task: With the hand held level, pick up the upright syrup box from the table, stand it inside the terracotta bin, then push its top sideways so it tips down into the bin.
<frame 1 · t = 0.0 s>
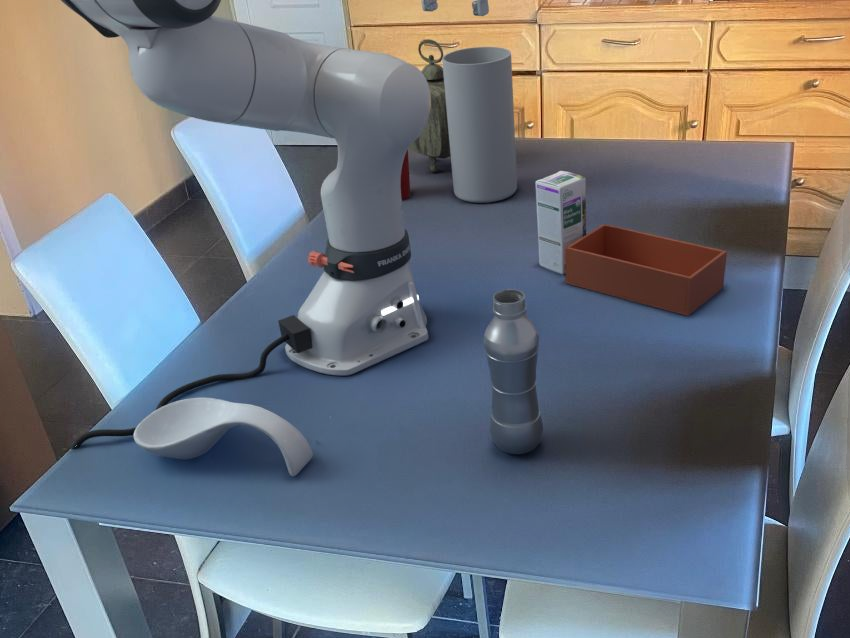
hand: (455, 12, 132), 39 cm above the table, tool pointing down, fingers open, 8 cm apart
paper cup: (396, 197, 186), on the table
cylinder vase: (485, 193, 184), on the table
bin: (643, 285, 147), on the table
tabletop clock: (440, 170, 196), on the table
spoon rest: (226, 454, 119), on the table
plastic bottle: (517, 446, 115), on the table
syrup box: (562, 265, 155), on the table
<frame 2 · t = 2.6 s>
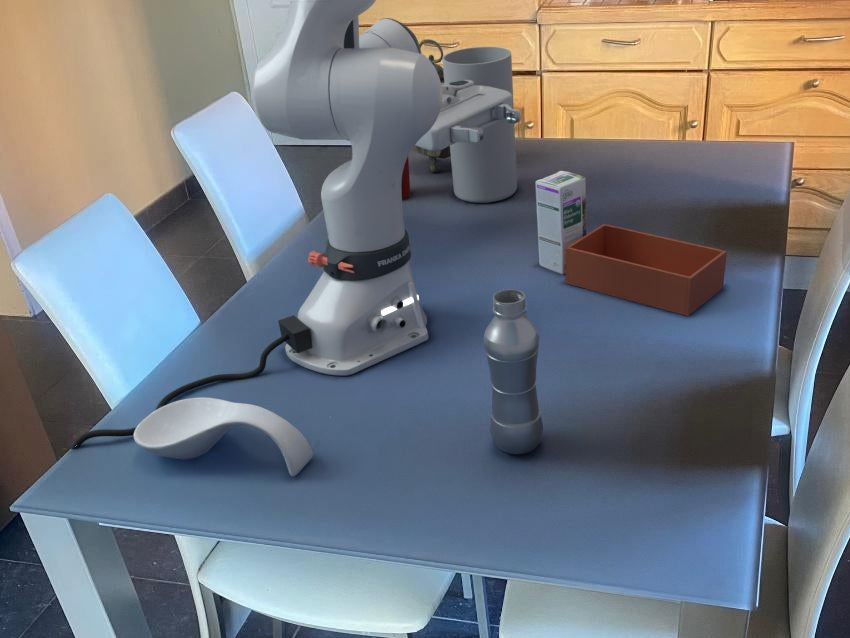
hand: (499, 126, 148), 21 cm above the table, tool horizontal, fingers open, 8 cm apart
nothing on the table moved.
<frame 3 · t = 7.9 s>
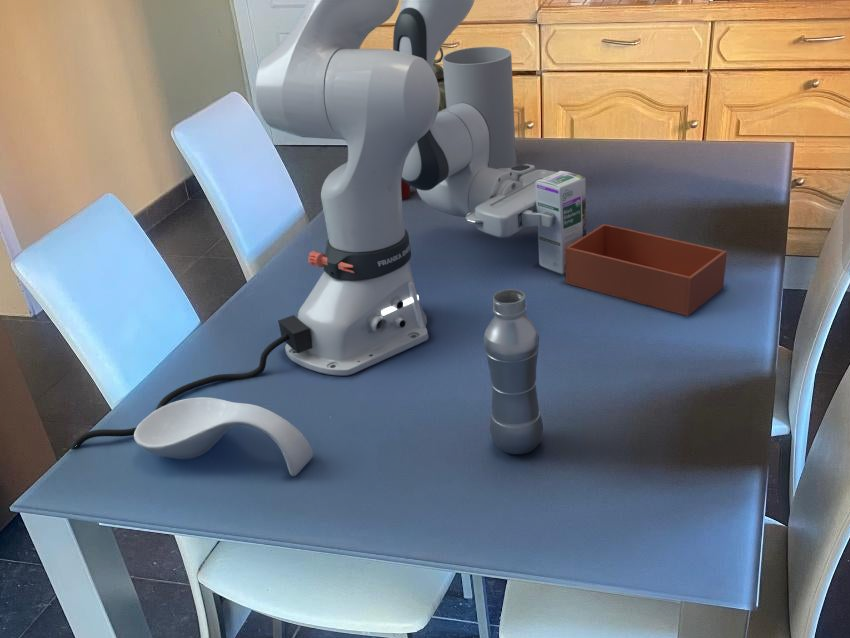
hand: (566, 212, 149), 9 cm above the table, tool horizontal, fingers closed on syrup box, 6 cm apart
syrup box: (562, 265, 155), on the table, touching gripper
everything else where it was.
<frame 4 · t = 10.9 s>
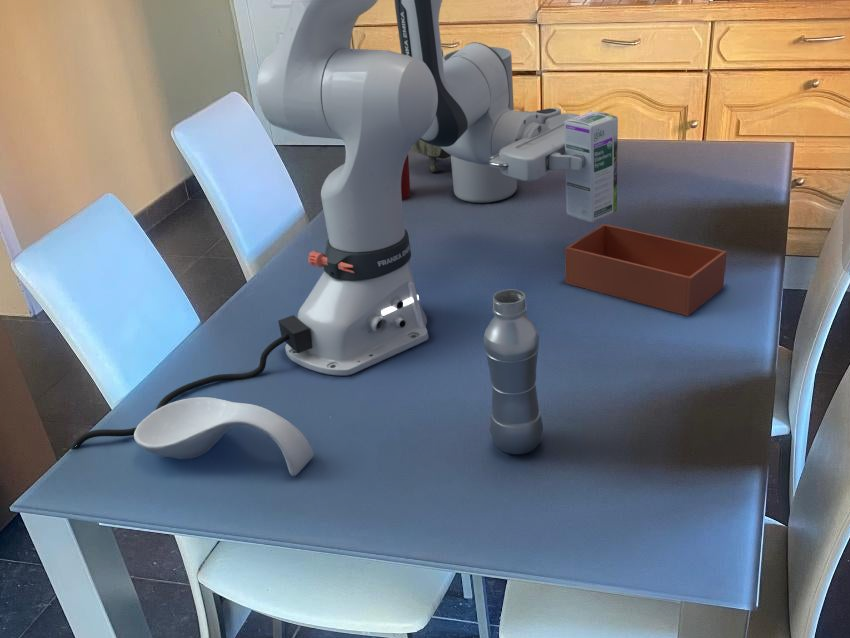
hand: (596, 155, 140), 19 cm above the table, tool horizontal, fingers closed on syrup box, 6 cm apart
syrup box: (590, 214, 146), point 10 cm above the table, touching gripper
everything else where it was.
when the fingers open (9 cm above the table, at t = 14.4 s): syrup box stays where it is, resting on bin.
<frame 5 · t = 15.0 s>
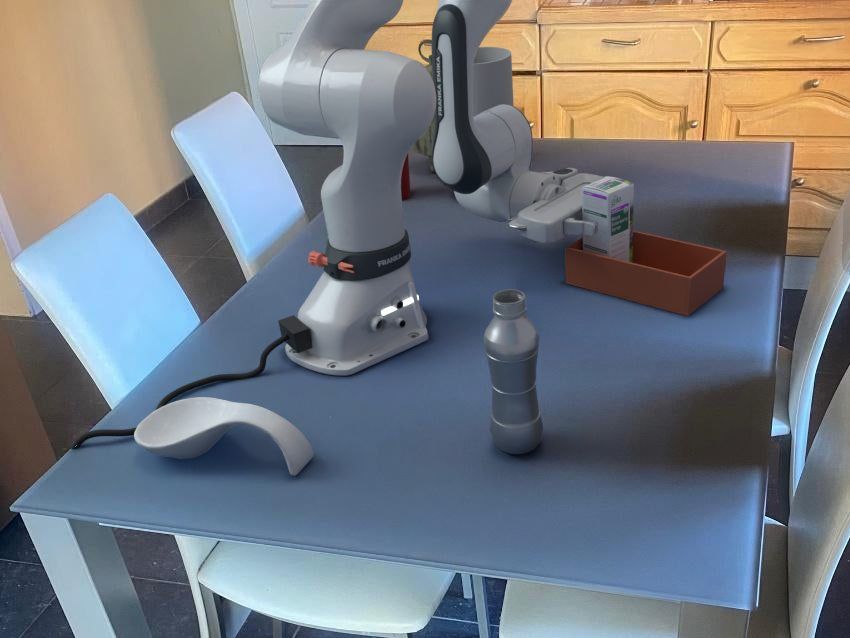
hand: (612, 218, 144), 10 cm above the table, tool horizontal, fingers open, 8 cm apart
syrup box: (607, 274, 150), resting on bin
everything else where it was.
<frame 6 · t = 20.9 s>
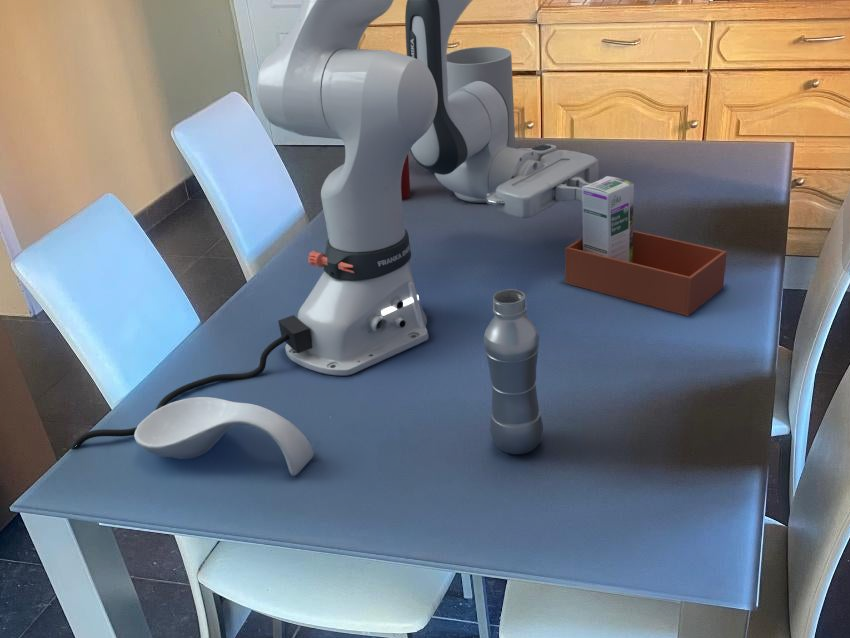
hand: (590, 193, 144), 13 cm above the table, tool horizontal, fingers closed
syrup box: (607, 274, 150), resting on bin, touching gripper
everything else where it was.
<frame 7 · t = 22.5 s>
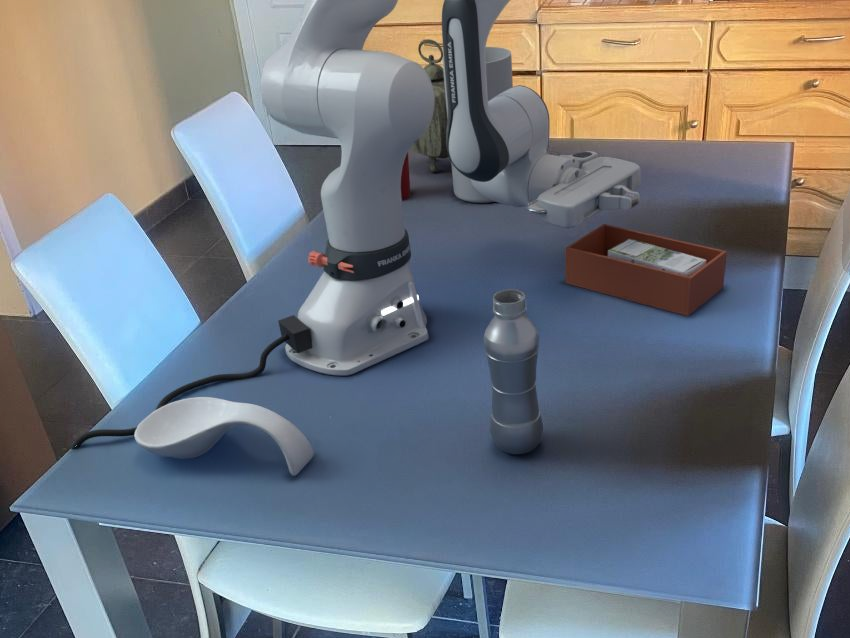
hand: (635, 201, 140), 13 cm above the table, tool horizontal, fingers closed
syrup box: (616, 259, 147), point 3 cm above the table, touching bin
everything else where it was.
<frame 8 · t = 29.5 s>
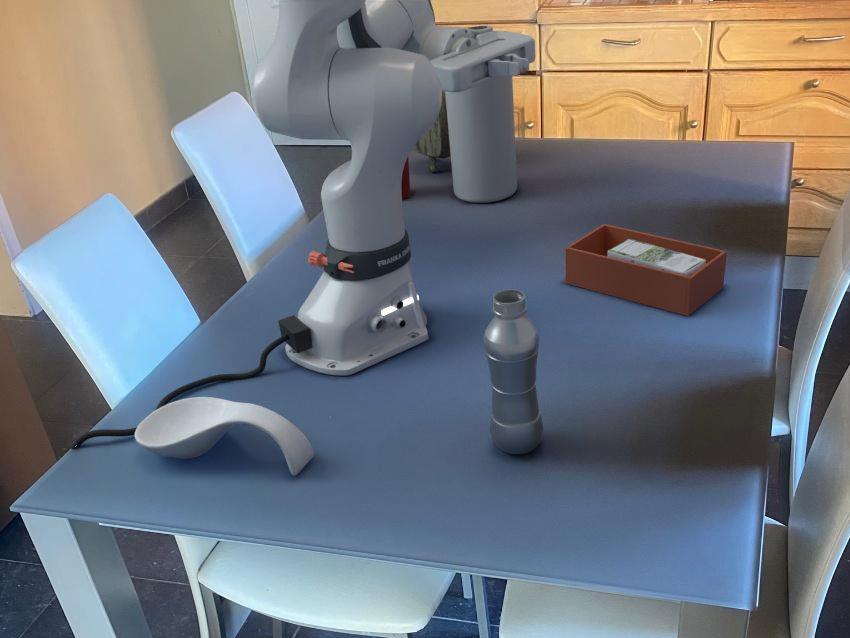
hand: (523, 67, 140), 30 cm above the table, tool horizontal, fingers closed
nothing on the table moved.
at the end: syrup box inside the target area in the bin (4.7 cm from its centre), point 3.5 cm above the bin's base; syrup box tilted 90°; the gripper is holding nothing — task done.
